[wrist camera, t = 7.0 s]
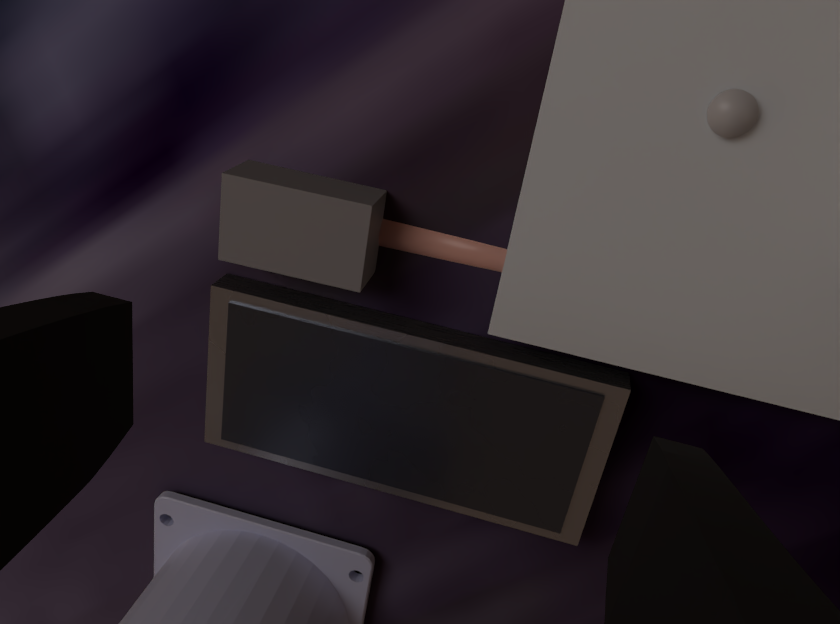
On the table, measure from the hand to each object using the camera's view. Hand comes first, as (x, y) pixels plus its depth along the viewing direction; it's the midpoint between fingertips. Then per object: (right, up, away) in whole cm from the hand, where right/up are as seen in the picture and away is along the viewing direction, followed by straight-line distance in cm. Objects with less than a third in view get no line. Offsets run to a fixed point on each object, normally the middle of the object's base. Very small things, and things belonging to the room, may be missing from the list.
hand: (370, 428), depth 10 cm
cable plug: (+1, +4, +11) cm, 11 cm away
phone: (0, -1, +12) cm, 12 cm away
